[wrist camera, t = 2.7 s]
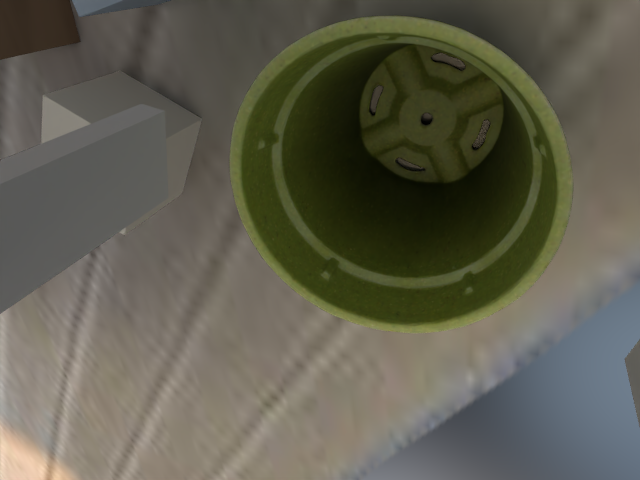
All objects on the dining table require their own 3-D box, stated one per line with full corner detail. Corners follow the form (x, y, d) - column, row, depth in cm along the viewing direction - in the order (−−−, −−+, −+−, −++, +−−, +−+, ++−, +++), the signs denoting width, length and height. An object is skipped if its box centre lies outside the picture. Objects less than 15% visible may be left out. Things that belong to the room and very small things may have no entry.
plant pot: (349, -39, 18) (242, -29, 11) (602, 24, 16) (661, 83, 9) (308, 174, 23) (219, 270, 17) (495, 239, 22) (483, 376, 15)
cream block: (110, 149, 27) (39, 184, 23) (121, 70, 24) (42, 94, 20) (183, 192, 27) (124, 235, 23) (203, 118, 24) (139, 153, 20)
